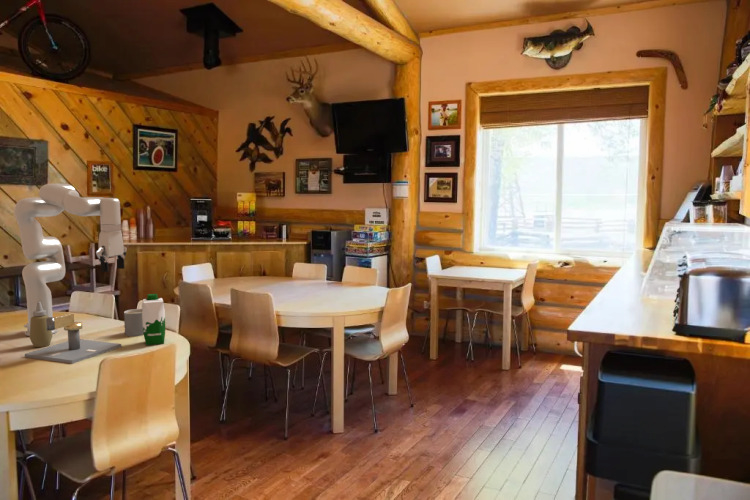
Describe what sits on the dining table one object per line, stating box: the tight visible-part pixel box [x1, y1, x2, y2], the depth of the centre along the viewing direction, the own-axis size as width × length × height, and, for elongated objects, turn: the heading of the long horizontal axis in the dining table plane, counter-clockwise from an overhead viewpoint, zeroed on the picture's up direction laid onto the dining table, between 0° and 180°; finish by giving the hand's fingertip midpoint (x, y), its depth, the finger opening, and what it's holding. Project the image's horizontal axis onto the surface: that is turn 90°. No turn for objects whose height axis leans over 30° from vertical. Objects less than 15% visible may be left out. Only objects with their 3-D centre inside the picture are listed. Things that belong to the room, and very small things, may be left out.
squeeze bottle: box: [29, 302, 53, 348], centre depth 237 cm, size 8×8×18 cm
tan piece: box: [46, 313, 83, 332], centre depth 224 cm, size 6×15×6 cm, turn 160°
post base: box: [24, 329, 123, 364], centre depth 229 cm, size 24×24×9 cm
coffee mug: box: [123, 308, 144, 337], centre depth 259 cm, size 13×10×10 cm
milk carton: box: [141, 293, 166, 346], centre depth 242 cm, size 9×9×20 cm
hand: (112, 270), depth 238 cm, fingers open, 9 cm apart
